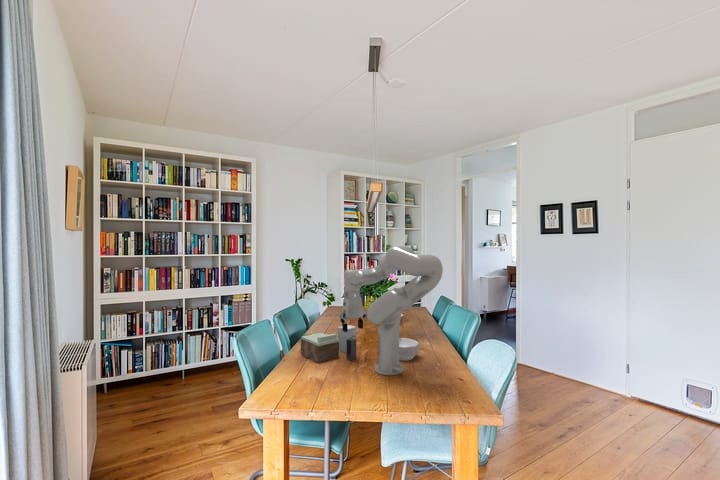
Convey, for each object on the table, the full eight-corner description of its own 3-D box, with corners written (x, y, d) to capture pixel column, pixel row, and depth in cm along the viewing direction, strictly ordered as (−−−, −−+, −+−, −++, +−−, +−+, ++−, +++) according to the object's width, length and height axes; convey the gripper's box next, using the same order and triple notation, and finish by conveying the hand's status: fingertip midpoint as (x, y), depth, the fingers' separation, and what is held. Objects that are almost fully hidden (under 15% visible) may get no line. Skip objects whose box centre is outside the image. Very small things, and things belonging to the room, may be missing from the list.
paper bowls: (415, 364, 165) (415, 347, 165) (384, 360, 170) (384, 344, 170) (420, 354, 179) (420, 339, 179) (392, 351, 184) (392, 336, 184)
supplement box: (347, 353, 181) (347, 329, 181) (337, 350, 185) (337, 326, 185) (356, 349, 187) (356, 326, 187) (345, 347, 191) (346, 324, 191)
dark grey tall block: (356, 359, 171) (356, 339, 171) (350, 361, 169) (351, 340, 169) (351, 357, 174) (351, 337, 174) (346, 359, 172) (346, 339, 172)
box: (338, 358, 173) (338, 342, 173) (318, 363, 165) (318, 346, 165) (315, 347, 190) (315, 333, 190) (295, 352, 182) (295, 336, 182)
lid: (338, 341, 173) (339, 334, 173) (318, 346, 165) (318, 338, 165) (321, 334, 185) (321, 327, 185) (301, 338, 178) (301, 331, 178)
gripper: (342, 297, 163) (343, 334, 163) (370, 293, 174) (371, 328, 174) (333, 296, 169) (334, 331, 168) (360, 292, 180) (361, 326, 179)
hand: (353, 329), depth 171 cm, fingers open, 9 cm apart
